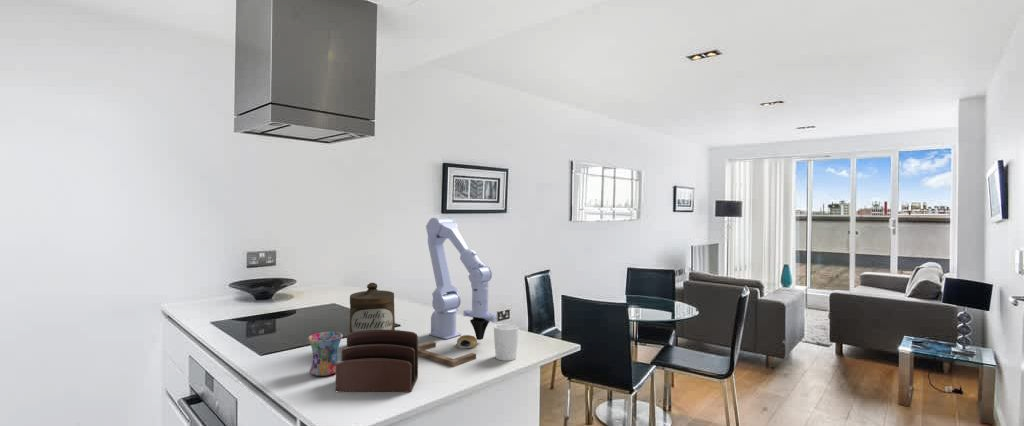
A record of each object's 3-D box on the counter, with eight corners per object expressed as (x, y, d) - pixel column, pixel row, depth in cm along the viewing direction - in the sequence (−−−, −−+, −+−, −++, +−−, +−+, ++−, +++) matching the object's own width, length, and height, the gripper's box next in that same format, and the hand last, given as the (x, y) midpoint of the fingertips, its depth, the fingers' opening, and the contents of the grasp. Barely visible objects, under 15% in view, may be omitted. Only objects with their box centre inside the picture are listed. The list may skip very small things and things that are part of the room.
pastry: (461, 341, 169) (461, 330, 169) (479, 342, 168) (479, 331, 168) (455, 349, 159) (455, 337, 159) (474, 350, 159) (475, 338, 159)
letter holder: (347, 378, 132) (347, 328, 131) (418, 378, 132) (418, 328, 132) (334, 392, 122) (335, 338, 121) (411, 392, 122) (412, 339, 122)
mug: (331, 379, 130) (331, 341, 130) (301, 377, 132) (301, 339, 132) (352, 365, 142) (353, 330, 142) (324, 363, 144) (324, 328, 143)
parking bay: (408, 352, 154) (408, 348, 154) (431, 345, 162) (431, 341, 162) (453, 366, 141) (453, 362, 141) (476, 358, 149) (476, 353, 149)
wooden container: (349, 355, 151) (349, 287, 151) (349, 342, 165) (349, 280, 165) (396, 351, 156) (396, 285, 155) (392, 339, 170) (393, 278, 169)
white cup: (489, 359, 149) (489, 327, 149) (501, 352, 156) (501, 322, 156) (511, 363, 145) (511, 331, 145) (522, 356, 152) (522, 325, 152)
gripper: (503, 301, 164) (502, 340, 164) (473, 296, 173) (472, 333, 173) (489, 305, 159) (489, 345, 159) (459, 299, 168) (459, 337, 168)
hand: (479, 339), depth 166 cm, fingers closed
